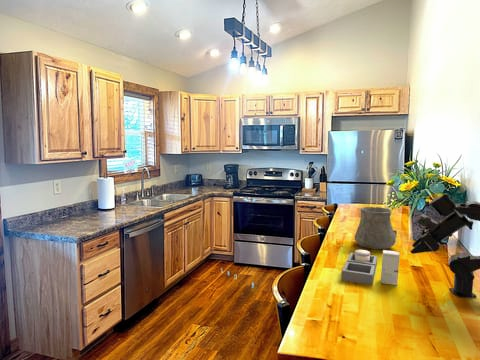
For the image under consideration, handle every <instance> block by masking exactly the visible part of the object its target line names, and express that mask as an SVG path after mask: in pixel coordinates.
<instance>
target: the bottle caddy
mask: <svg viewBox="0 0 480 360" xmlns="http://www.w3.org/2000/svg"><path fill="white" fill-rule="evenodd" d="M377 265H378V255H371V252H370V251H368V250H366V249H365V250H364V249H355V250H354V252H350V253H349V254H348V258H347V259H346V262H345V263H344V265H343V268H342V271H341V281H344V282H349V281H351V282H350V283H356V282H357V283H358V284H362V283H363V284H364V285H368V284H369V286H373V284H374V280H375V275H376V270H377ZM357 283H356V284H357ZM363 284H362V285H363Z"/></svg>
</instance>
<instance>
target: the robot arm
mask: <svg viewBox="0 0 480 360" xmlns="http://www.w3.org/2000/svg"><path fill="white" fill-rule="evenodd" d="M428 205H429V206H430V207H431V208H432V209H433V210H434V211H435V213H437V214H438V216H439V217H445V218H444V219H439V220H437V221H436V220H434V219H433V218H431V217H430V216H428V215H426V214H424V213H421V214H420V215H419V217H418V219H417V220H416V223H418V225H421V226H423V228H422V233H421V235H420V236H419V237H418V238H417V239H416V240H415V242H414V243H412V244H411V246H412V247H413V248H412V249H411V250H410V251H409V252H410V253H411V254H412V255H414V254H422V253H431V252H433V253H435V252H437V251H439V250H440V246H441V245H440V244H441V243H443V241H444V240H445V239H446V238H448V237H450V238H451V237H452V236H453V235H454V234H455V233H456V232H459V231H460V230H462V229H463V228H465V227H467V228H468V230H470V231H471V230H473V226H474V225H473V224H474V221H477V222H480V202H478V201H476V200H470V201H468V202H466V203H455V202H454V201H453V200H452V199H451V198H450V196H449V194H448V193H444V194H442V195H440V196H438V197H436V198H434V199H432V201H431V200H430V202H429V203H428ZM460 214H461V215H460ZM469 219H470V220H469ZM448 267H449V270H450V271H451V272H452V273H453V274H454V277H453V278H454V279H453V287H449V289H448V290H449V291H450V292H451V293H453V294H454V295H455V296H456V297H459V298H477V297H478V296H477V294H475V293H474V292H473V289H474V279H475V273H474V272H476V271H478V270H480V255H471V254H470V252H469V251H464V252H458V251H457V252H455V254H452V255H450V257H449V259H448Z"/></svg>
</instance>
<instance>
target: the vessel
mask: <svg viewBox="0 0 480 360" xmlns="http://www.w3.org/2000/svg"><path fill="white" fill-rule="evenodd" d="M359 210H360V219H359V224H358V226H357V229H356V232H355V234H354V241H355V242H356V243H357V245H359V247H363V248H366V249H373V250H387V249H389V248H391V247H393V246H394V245H395V244H396V242H397V233H398V231H397V230H396V229H394V228H393V226H392V221H391V220H392V219H391V215H392V210H391V209H389V208H386V207H381V206H379V207H378V206H363V207H360V209H359Z"/></svg>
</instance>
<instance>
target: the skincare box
mask: <svg viewBox="0 0 480 360" xmlns="http://www.w3.org/2000/svg"><path fill="white" fill-rule="evenodd" d="M381 257H382V259H381V269H380V271H381V273H380V274H381V275H380V284H387V285H393V286H398V279H399V270H400V269H399V268H400V257H401V256H400V252H399V251H393V250H387V249H382V255H381Z"/></svg>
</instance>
